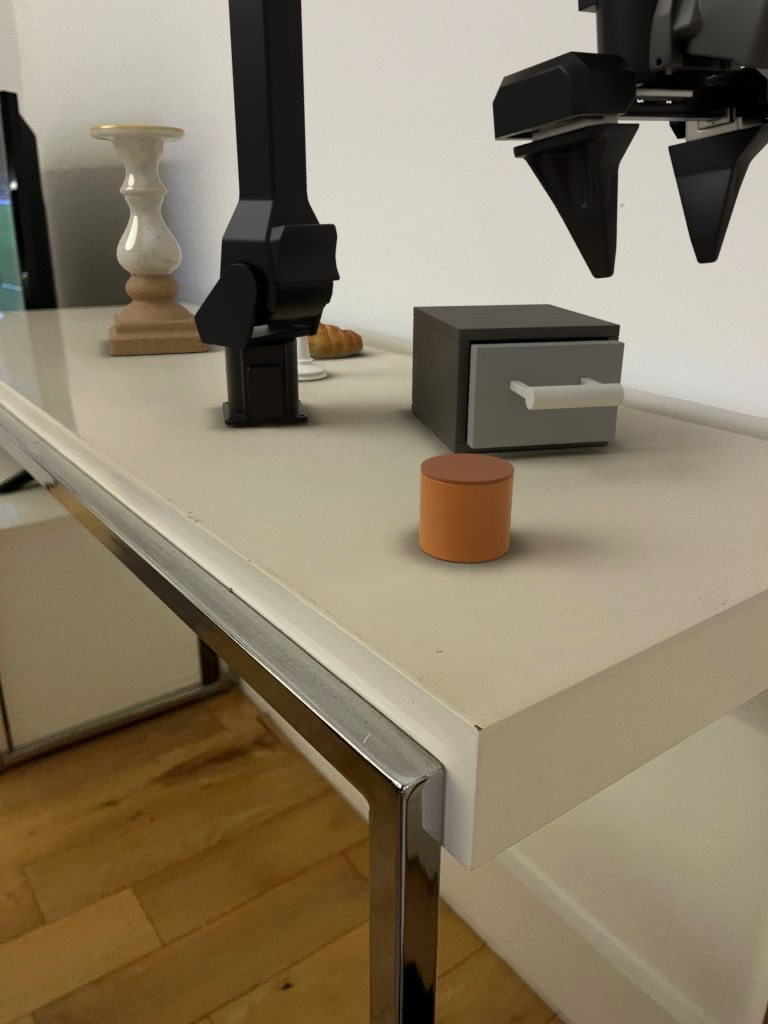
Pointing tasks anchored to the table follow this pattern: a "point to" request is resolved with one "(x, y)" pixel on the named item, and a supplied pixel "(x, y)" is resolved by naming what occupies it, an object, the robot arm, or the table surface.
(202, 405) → the table surface
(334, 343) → the pastry
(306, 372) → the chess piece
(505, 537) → the cylinder
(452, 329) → the small drawer cabinet
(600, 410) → the drawer
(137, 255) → the candle holder
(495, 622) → the table surface
